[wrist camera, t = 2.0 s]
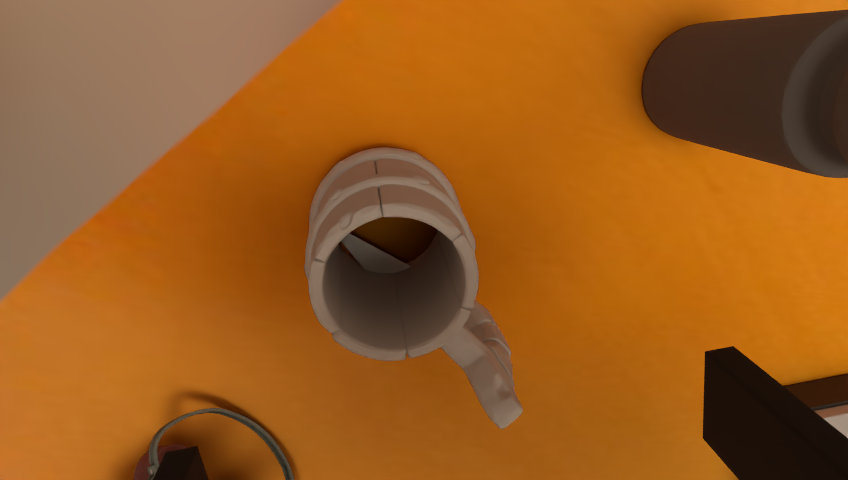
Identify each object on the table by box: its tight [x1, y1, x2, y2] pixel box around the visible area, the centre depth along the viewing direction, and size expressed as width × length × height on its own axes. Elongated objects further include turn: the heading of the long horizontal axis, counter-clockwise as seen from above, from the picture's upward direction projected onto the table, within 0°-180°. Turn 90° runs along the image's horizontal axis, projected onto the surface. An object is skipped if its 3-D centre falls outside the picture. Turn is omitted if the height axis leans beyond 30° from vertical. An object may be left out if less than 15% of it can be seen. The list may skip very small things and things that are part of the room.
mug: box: [304, 147, 523, 429], centre depth 25 cm, size 8×12×12 cm, turn 42°
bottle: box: [642, 10, 848, 178], centre depth 23 cm, size 6×6×15 cm
